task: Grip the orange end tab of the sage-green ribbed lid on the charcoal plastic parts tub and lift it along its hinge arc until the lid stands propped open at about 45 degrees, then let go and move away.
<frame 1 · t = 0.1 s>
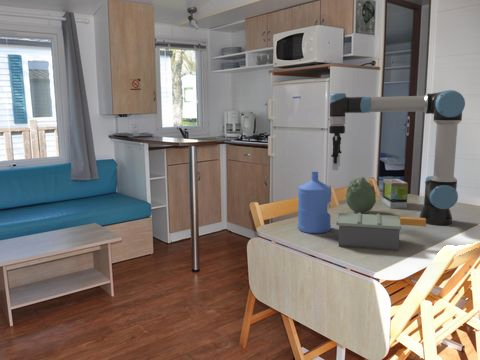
hand: (336, 168, 213), 28 cm above the table, tool pointing down, fingers open, 13 cm apart
water jug: (314, 229, 207), on the table
tea box: (394, 205, 252), on the table
lid: (380, 219, 183), point 11 cm above the table, hinge at 0.0°
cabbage: (360, 213, 236), on the table
parts tub: (367, 242, 186), on the table
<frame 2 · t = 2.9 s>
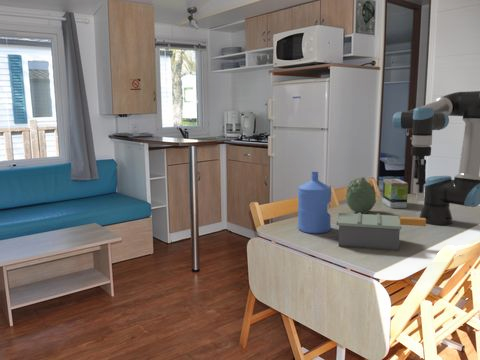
hand: (418, 197, 177), 21 cm above the table, tool pointing down, fingers open, 13 cm apart
nothing on the table moved.
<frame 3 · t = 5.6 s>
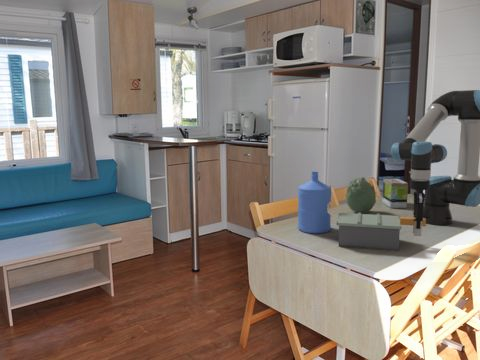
hand: (416, 234, 179), 5 cm above the table, tool pointing down, fingers closed on lid, 3 cm apart
lid: (380, 219, 183), point 11 cm above the table, hinge at 0.0°, touching gripper
everything else where it was.
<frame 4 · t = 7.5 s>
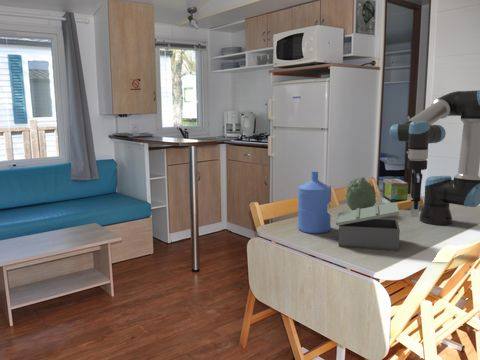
hand: (414, 215, 178), 13 cm above the table, tool pointing down, fingers closed on lid, 3 cm apart
lid: (378, 209, 182), point 15 cm above the table, hinge at 14.5°, touching gripper
everything else where it was.
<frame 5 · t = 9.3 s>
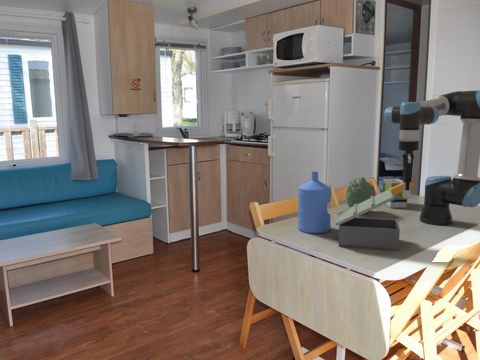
hand: (406, 196, 178), 21 cm above the table, tool pointing down, fingers closed on lid, 3 cm apart
lid: (374, 200, 182), point 19 cm above the table, hinge at 29.3°, touching gripper
everything else where it was.
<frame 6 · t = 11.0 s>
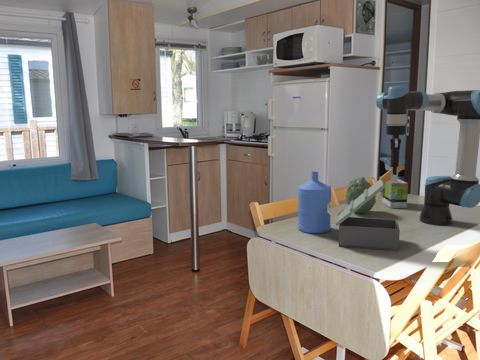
hand: (393, 181, 178), 27 cm above the table, tool pointing down, fingers closed on lid, 3 cm apart
lid: (367, 192, 182), point 22 cm above the table, hinge at 43.3°, touching gripper
everything else where it was.
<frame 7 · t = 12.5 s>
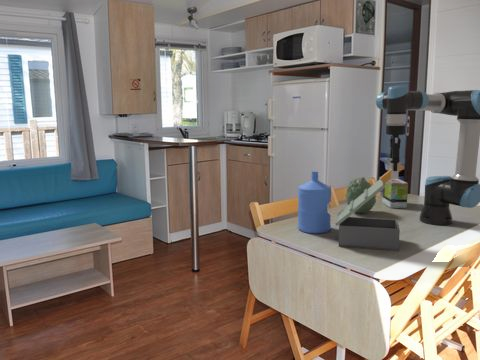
hand: (393, 176, 178), 30 cm above the table, tool pointing down, fingers open, 13 cm apart
lid: (367, 192, 182), point 22 cm above the table, hinge at 43.4°
everything else where it was.
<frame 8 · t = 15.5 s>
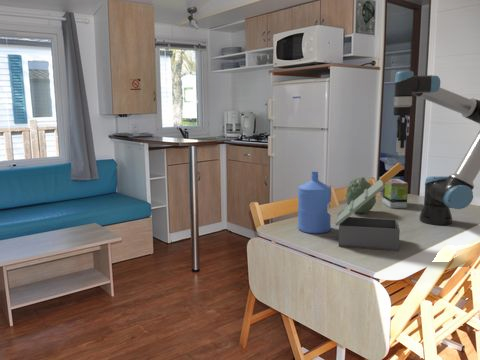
hand: (400, 153, 196), 37 cm above the table, tool pointing down, fingers open, 13 cm apart
nothing on the table moved.
at the end: lid at +43° (first picture: +0°); the gripper is holding nothing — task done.
